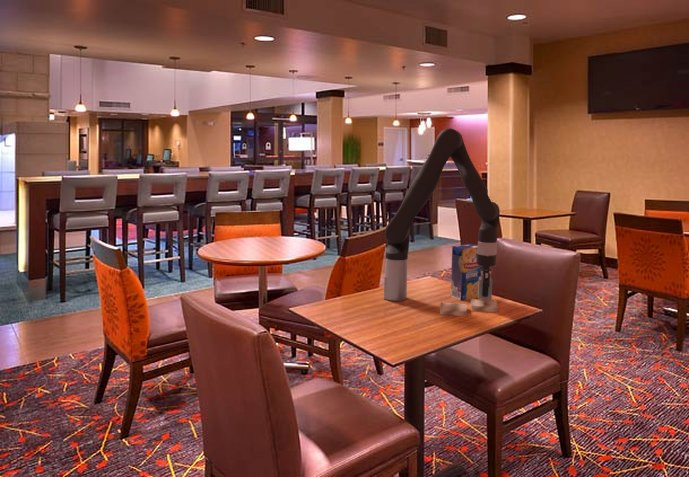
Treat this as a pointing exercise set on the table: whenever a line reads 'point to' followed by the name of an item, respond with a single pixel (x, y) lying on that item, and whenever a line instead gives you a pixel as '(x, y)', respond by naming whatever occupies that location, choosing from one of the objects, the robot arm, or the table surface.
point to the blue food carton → (464, 272)
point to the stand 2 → (484, 305)
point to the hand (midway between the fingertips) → (484, 294)
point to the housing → (488, 290)
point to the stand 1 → (453, 309)
